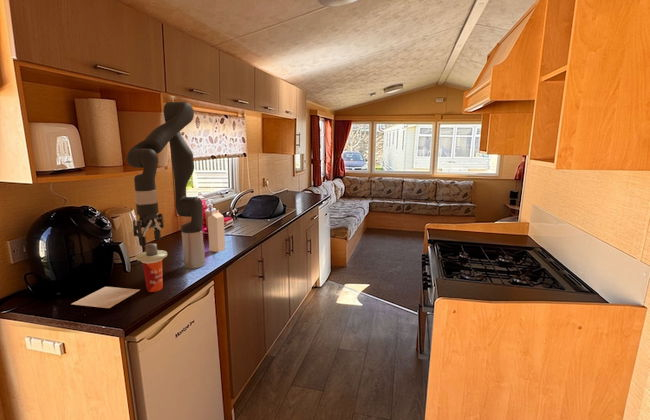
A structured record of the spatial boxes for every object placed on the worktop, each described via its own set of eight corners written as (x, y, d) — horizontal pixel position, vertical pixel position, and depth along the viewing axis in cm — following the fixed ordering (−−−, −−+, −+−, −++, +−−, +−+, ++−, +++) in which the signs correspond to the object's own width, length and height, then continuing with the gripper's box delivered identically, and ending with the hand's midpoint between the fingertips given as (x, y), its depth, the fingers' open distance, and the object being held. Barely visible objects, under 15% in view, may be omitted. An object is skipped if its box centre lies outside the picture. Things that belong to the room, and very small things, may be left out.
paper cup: (156, 295, 136) (152, 260, 133) (139, 293, 138) (136, 258, 135) (169, 287, 143) (167, 254, 141) (154, 285, 145) (151, 252, 143)
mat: (105, 287, 142) (105, 286, 142) (140, 291, 140) (140, 289, 139) (70, 305, 127) (70, 304, 127) (109, 309, 124) (109, 308, 124)
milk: (225, 249, 195) (223, 210, 190) (218, 252, 189) (216, 212, 185) (216, 248, 197) (214, 209, 193) (209, 251, 191) (207, 211, 187)
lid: (148, 251, 144) (147, 240, 143) (173, 253, 142) (172, 241, 141) (129, 260, 133) (128, 247, 133) (155, 262, 132) (154, 249, 131)
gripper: (150, 198, 141) (154, 237, 144) (124, 204, 127) (128, 247, 131) (167, 199, 140) (170, 238, 143) (142, 205, 126) (146, 248, 129)
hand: (150, 242), depth 137 cm, fingers open, 8 cm apart
